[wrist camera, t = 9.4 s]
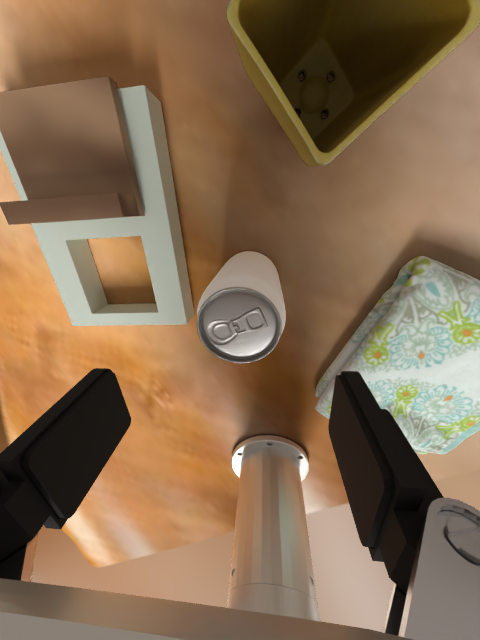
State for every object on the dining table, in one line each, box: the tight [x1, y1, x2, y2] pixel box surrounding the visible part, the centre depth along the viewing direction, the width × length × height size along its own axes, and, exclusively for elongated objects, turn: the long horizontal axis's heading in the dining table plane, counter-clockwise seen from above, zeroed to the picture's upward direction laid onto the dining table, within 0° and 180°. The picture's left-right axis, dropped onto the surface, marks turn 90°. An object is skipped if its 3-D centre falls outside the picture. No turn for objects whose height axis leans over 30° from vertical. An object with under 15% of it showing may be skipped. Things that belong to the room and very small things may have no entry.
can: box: [197, 251, 286, 364], centre depth 20 cm, size 6×6×12 cm
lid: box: [0, 76, 145, 225], centre depth 18 cm, size 9×10×4 cm
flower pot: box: [226, 0, 480, 167], centre depth 15 cm, size 9×9×9 cm
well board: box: [0, 85, 194, 326], centre depth 23 cm, size 20×14×3 cm
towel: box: [315, 256, 480, 454], centre depth 26 cm, size 18×21×5 cm
